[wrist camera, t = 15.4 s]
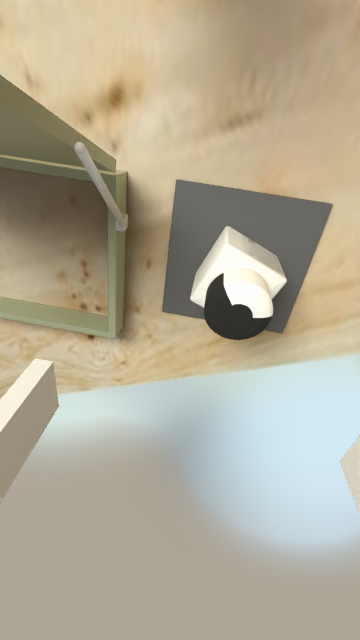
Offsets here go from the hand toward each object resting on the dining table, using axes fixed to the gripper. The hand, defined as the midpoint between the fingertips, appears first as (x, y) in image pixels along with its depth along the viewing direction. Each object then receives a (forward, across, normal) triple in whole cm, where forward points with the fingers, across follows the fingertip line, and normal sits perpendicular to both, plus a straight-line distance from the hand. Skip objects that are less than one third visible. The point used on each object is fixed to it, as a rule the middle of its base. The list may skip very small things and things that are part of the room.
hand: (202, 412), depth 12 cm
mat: (+29, -4, +4) cm, 29 cm away
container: (+29, -3, +4) cm, 29 cm away
